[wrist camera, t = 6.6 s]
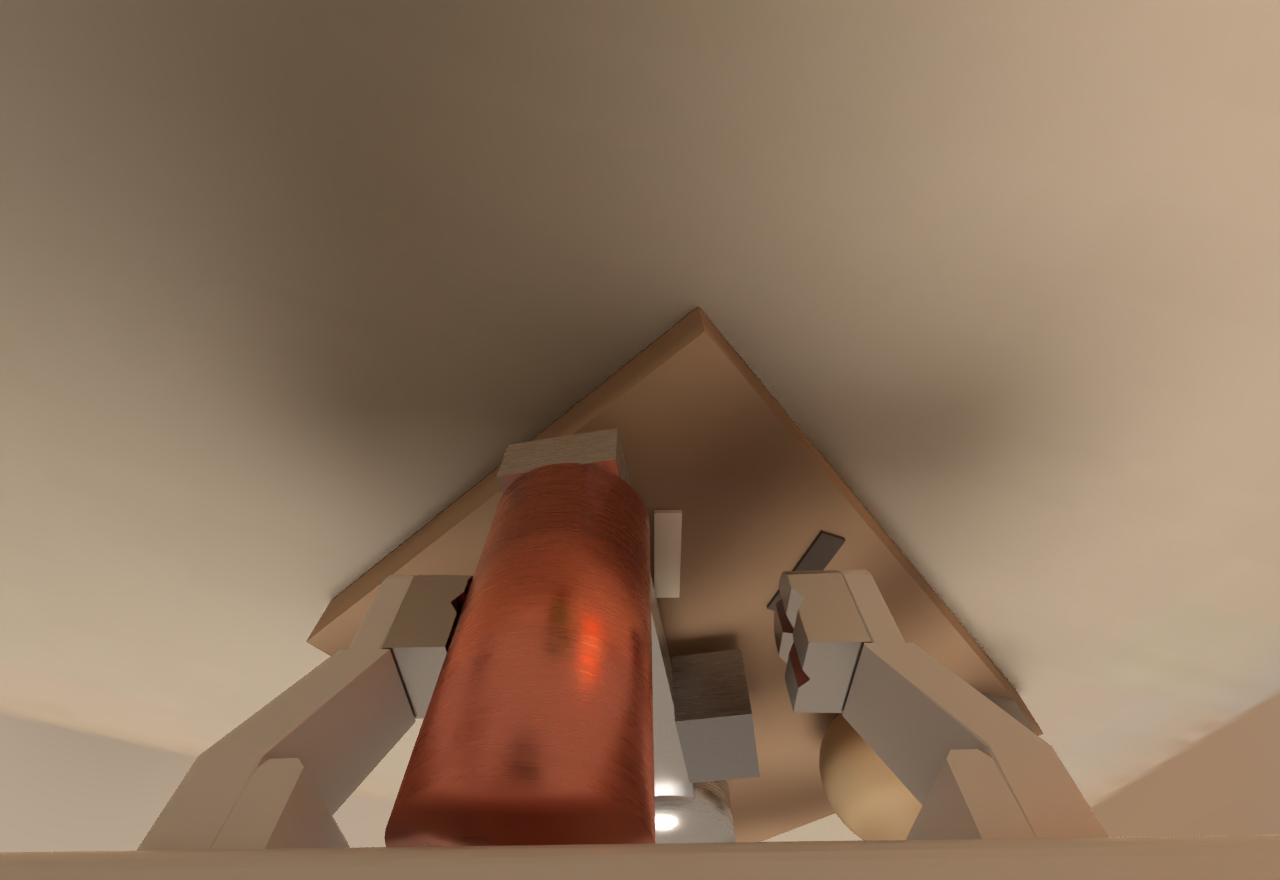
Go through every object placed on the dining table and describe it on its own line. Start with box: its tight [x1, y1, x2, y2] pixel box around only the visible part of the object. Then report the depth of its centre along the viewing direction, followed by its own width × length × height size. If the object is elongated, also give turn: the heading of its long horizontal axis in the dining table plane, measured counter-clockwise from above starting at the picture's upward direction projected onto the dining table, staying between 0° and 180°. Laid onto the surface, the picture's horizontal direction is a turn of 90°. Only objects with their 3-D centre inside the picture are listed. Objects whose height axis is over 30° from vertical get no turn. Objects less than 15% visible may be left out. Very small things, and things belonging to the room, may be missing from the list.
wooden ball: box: [819, 713, 922, 841], centre depth 18 cm, size 4×4×4 cm
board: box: [306, 307, 1043, 842], centre depth 17 cm, size 19×15×6 cm
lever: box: [385, 428, 760, 847], centre depth 14 cm, size 17×5×8 cm, turn 10°
